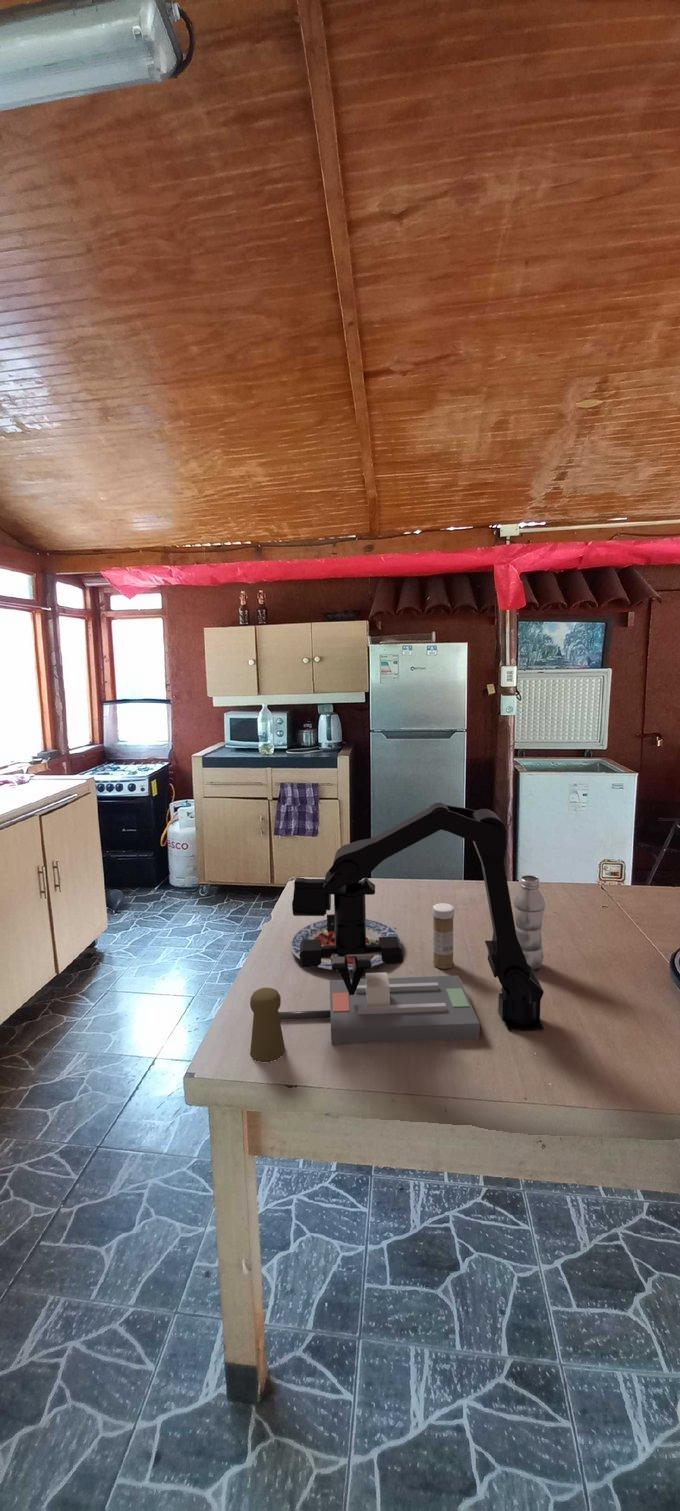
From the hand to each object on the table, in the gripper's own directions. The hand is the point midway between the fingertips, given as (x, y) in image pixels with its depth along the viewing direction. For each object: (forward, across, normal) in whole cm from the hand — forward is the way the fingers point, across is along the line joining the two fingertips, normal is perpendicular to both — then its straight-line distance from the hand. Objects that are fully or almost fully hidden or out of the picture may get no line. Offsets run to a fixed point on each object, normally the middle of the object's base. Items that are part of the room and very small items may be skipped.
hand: (351, 994), depth 110 cm
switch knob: (+1, -5, 0) cm, 5 cm away
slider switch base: (+5, -4, 0) cm, 6 cm away
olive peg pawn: (+5, +15, +9) cm, 18 cm away
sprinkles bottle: (+5, -21, -18) cm, 28 cm away
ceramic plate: (+5, 0, -27) cm, 27 cm away
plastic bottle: (+5, -39, -16) cm, 42 cm away
